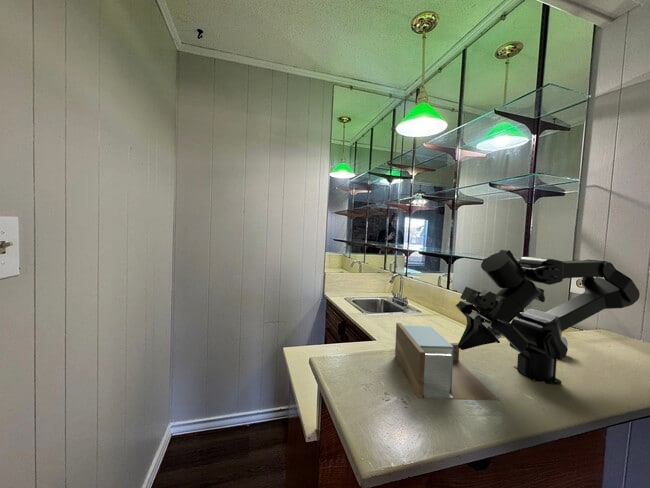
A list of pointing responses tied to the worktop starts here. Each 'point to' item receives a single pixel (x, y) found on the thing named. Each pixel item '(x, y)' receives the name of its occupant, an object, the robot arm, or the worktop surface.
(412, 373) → the shelf
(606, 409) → the worktop surface
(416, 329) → the light blue block
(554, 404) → the worktop surface
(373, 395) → the worktop surface
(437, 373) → the bookend
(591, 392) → the worktop surface
